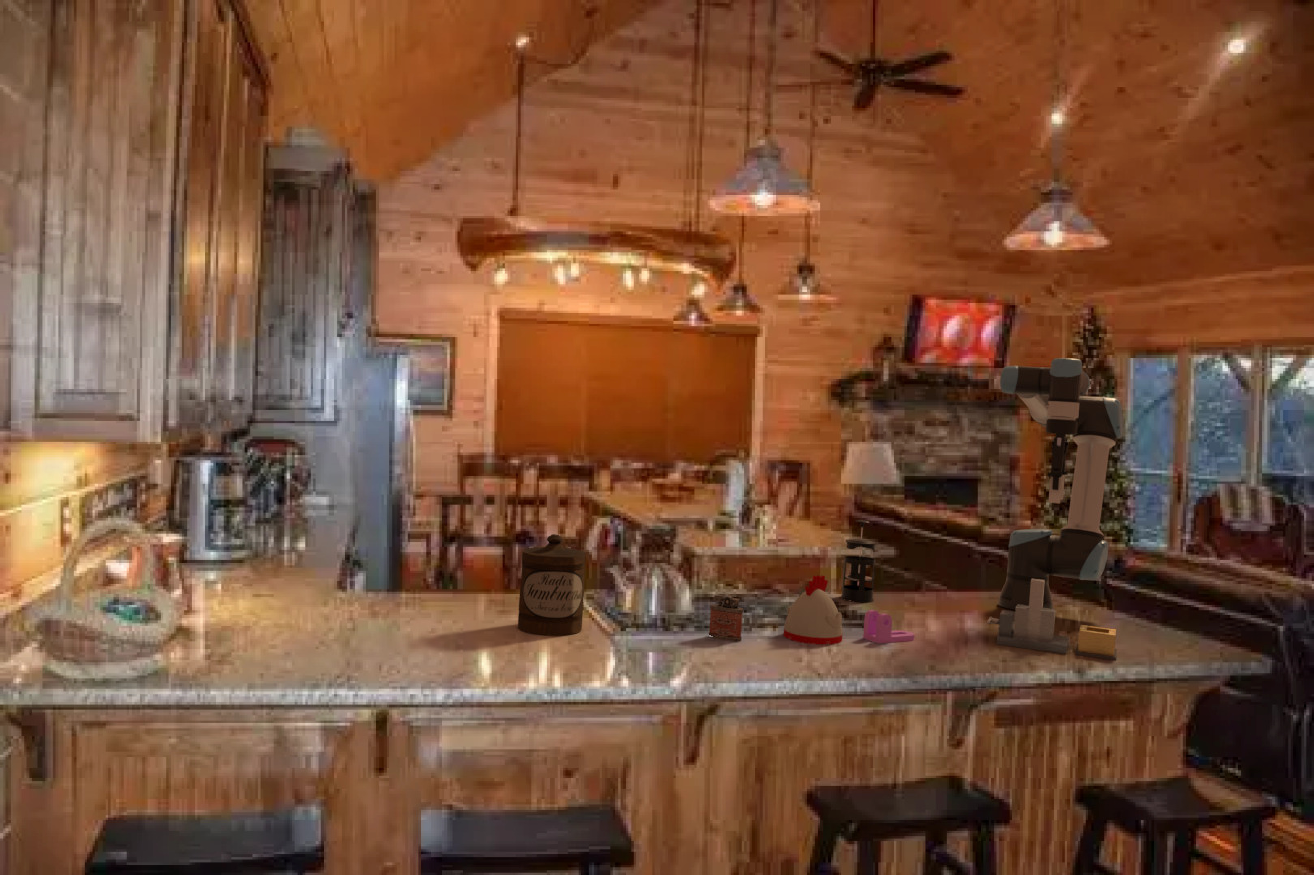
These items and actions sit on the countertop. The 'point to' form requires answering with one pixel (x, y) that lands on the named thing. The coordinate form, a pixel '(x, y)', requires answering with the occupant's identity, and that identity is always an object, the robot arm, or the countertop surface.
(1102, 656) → the rubber mat
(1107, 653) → the orange-brown square frame
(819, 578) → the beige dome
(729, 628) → the lighter
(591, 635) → the countertop surface
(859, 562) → the french press
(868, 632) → the bracket
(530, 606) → the wooden container
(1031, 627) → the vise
